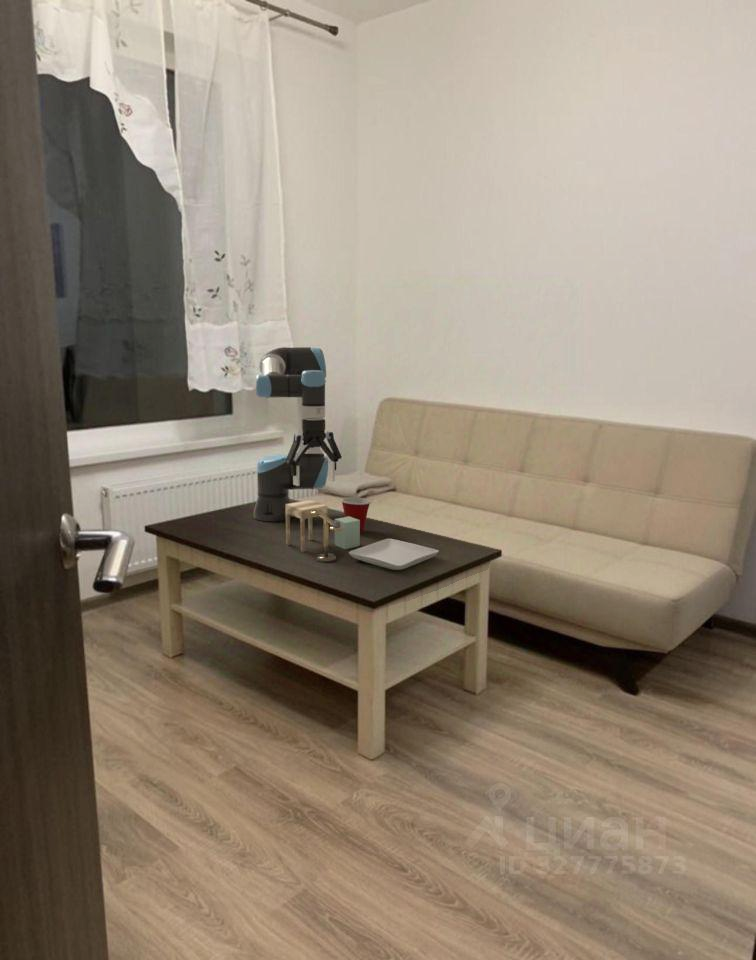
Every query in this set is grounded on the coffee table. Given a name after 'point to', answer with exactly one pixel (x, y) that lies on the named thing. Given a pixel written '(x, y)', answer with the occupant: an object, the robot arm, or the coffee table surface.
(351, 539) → the block
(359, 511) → the plastic cup
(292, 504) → the wooden stool
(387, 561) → the salad plate
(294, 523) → the coffee table surface
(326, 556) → the balance
